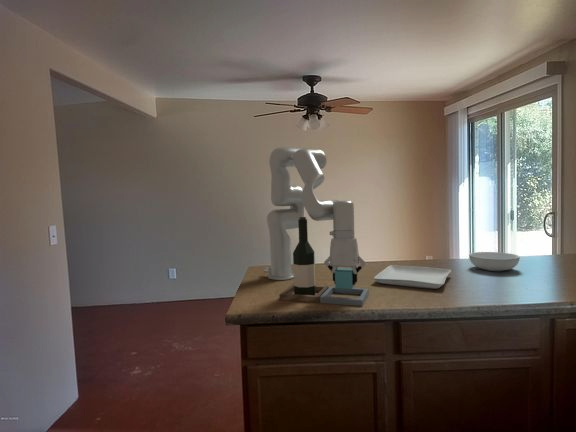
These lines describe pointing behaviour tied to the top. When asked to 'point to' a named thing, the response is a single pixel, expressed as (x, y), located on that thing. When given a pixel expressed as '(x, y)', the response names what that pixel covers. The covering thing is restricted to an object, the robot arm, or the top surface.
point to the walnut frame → (307, 298)
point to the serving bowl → (494, 260)
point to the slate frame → (345, 301)
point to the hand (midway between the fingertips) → (345, 283)
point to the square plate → (413, 276)
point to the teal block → (344, 278)
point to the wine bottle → (304, 263)
